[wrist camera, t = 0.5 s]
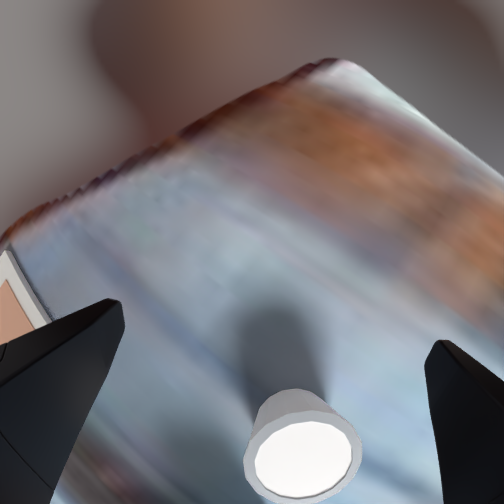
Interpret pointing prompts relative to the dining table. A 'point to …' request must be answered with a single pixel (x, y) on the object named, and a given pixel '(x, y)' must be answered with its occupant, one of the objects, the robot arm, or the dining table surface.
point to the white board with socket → (17, 302)
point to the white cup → (300, 449)
